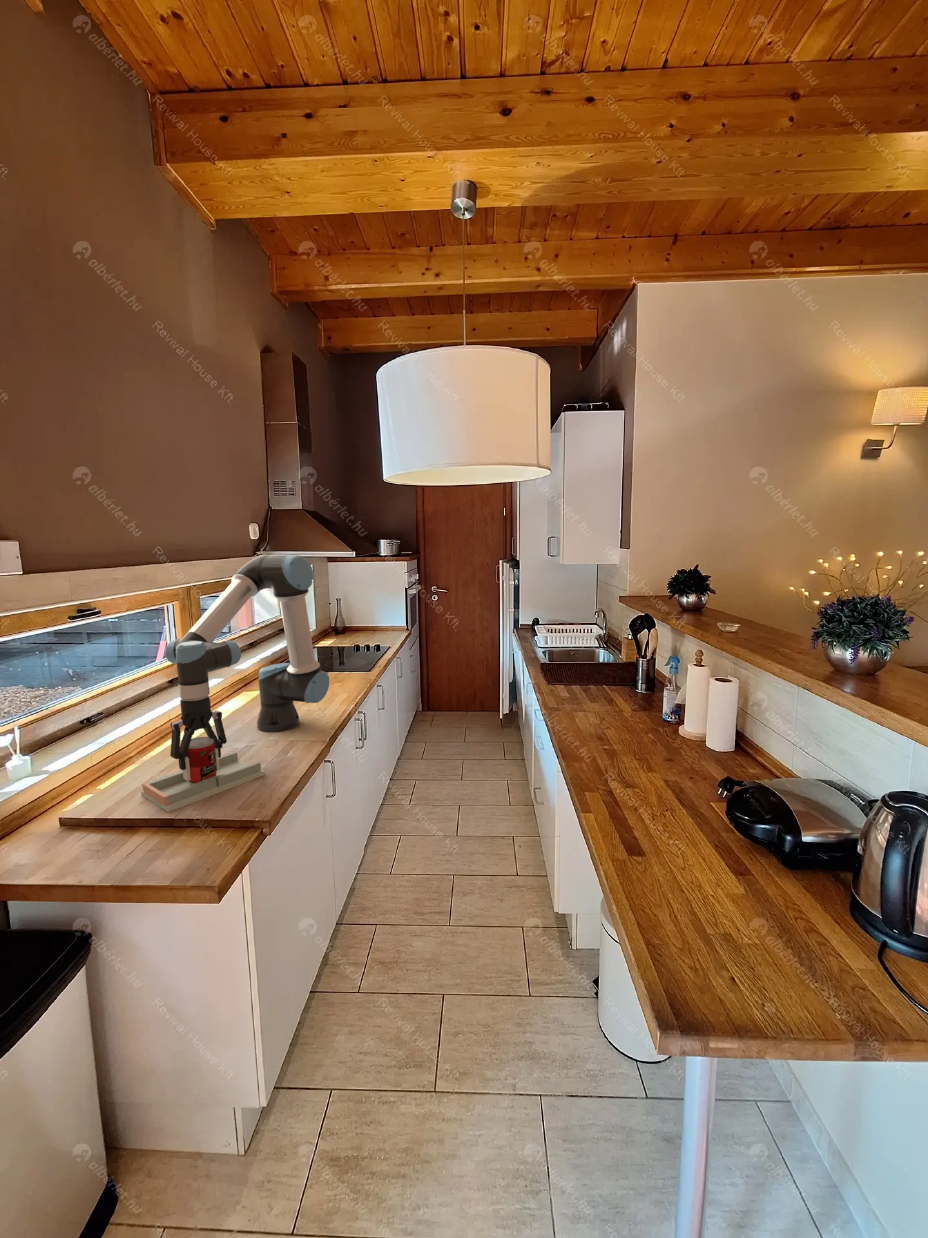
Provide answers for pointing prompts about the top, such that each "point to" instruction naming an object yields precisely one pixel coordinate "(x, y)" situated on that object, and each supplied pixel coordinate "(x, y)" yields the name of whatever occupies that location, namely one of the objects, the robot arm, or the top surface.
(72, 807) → the top surface
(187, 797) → the grey miter box
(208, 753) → the canned food
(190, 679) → the robot arm
